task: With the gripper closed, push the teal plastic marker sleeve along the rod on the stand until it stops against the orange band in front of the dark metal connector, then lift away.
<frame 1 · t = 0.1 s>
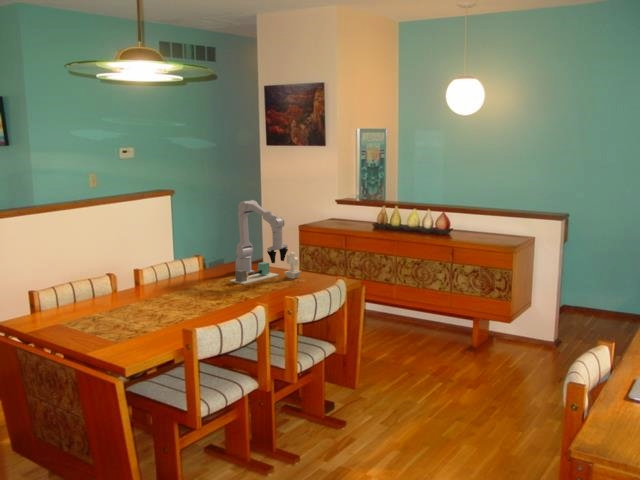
hand: (277, 261, 369), 10 cm above the table, fingers open, 7 cm apart
rod stand: (255, 278, 372), on the table
sleeve: (263, 268, 376), point 5 cm above the table, slide at 0.0 cm
figurine: (292, 277, 374), on the table
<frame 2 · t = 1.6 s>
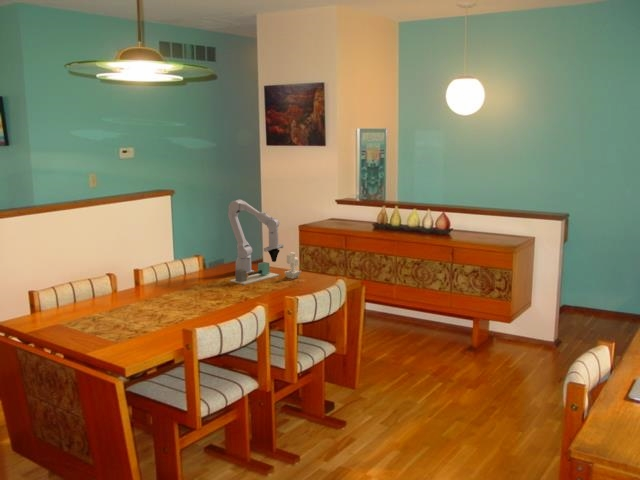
hand: (274, 261, 382), 8 cm above the table, fingers closed
nothing on the table moved.
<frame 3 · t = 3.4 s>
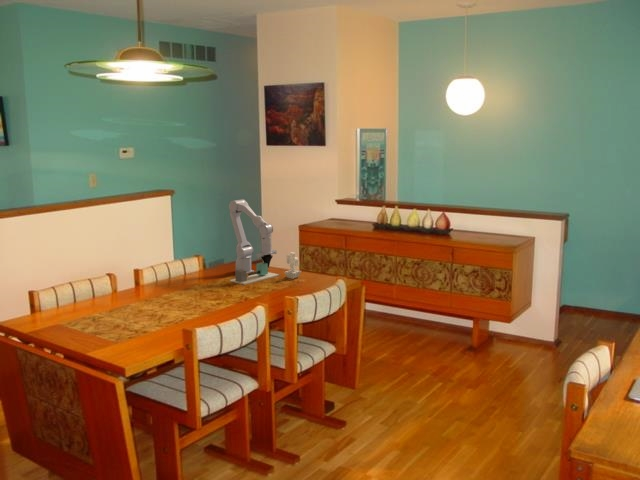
hand: (266, 267, 378), 5 cm above the table, fingers closed
sleeve: (262, 268, 375), point 5 cm above the table, slide at 1.3 cm, touching gripper
everything else where it was.
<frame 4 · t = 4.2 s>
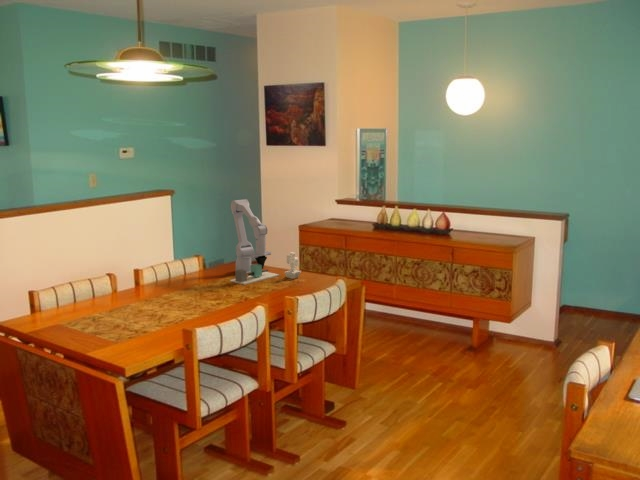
hand: (261, 268, 374), 5 cm above the table, fingers closed
sleeve: (256, 270, 371), point 5 cm above the table, slide at 6.0 cm, touching gripper
everything else where it was.
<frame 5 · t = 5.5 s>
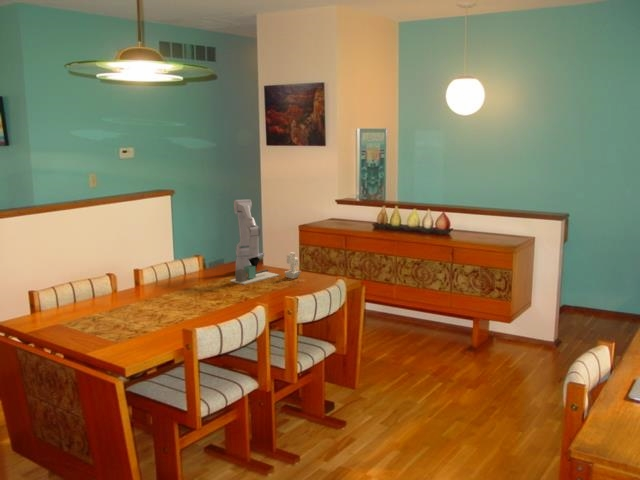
hand: (254, 270, 370), 5 cm above the table, fingers closed
sleeve: (249, 271, 368), point 5 cm above the table, slide at 11.1 cm, touching rod stand, gripper
everything else where it was.
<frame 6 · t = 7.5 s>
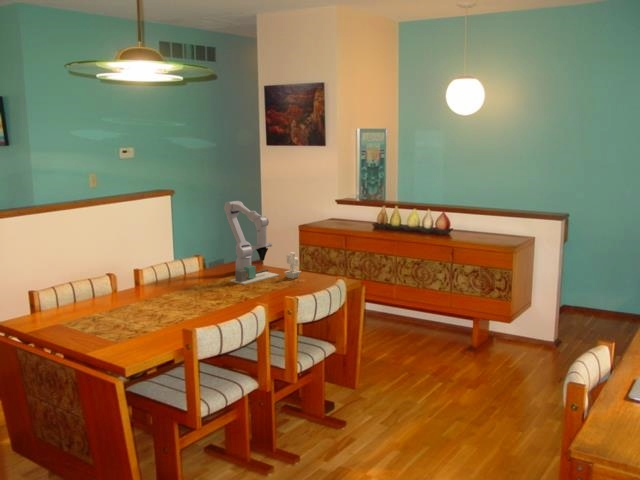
hand: (262, 260, 377), 9 cm above the table, fingers closed
sleeve: (249, 271, 368), point 5 cm above the table, slide at 11.1 cm, touching rod stand
everything else where it was.
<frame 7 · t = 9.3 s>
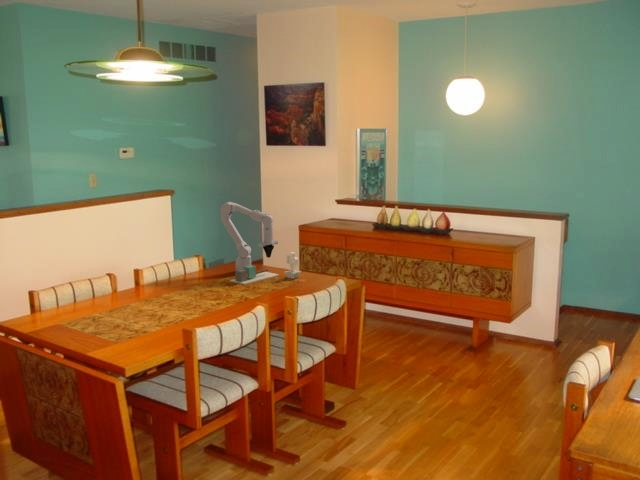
hand: (268, 257, 385), 9 cm above the table, fingers closed
nothing on the table moved.
at the end: sleeve slide at 11.1 cm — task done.
